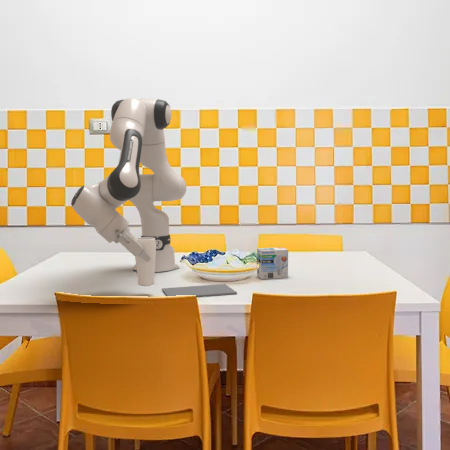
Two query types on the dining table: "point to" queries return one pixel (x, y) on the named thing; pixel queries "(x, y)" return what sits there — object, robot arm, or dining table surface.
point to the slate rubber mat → (200, 290)
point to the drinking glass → (146, 268)
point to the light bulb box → (272, 263)
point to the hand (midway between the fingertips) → (147, 258)
